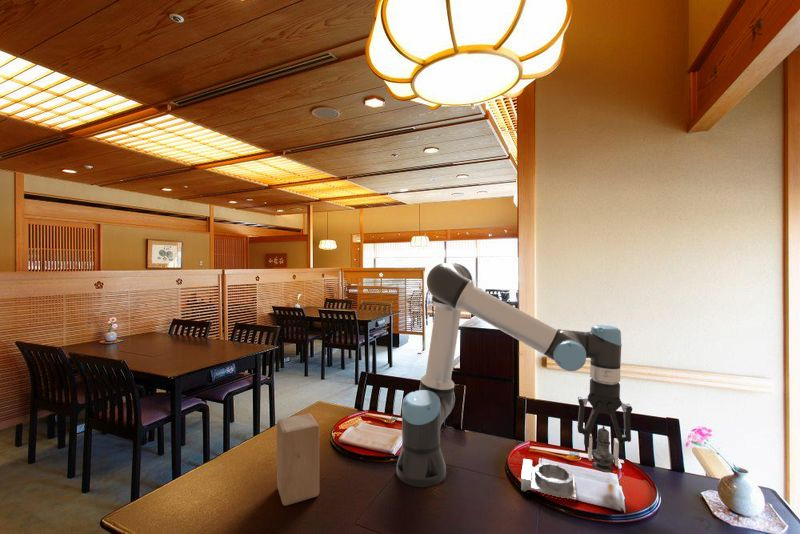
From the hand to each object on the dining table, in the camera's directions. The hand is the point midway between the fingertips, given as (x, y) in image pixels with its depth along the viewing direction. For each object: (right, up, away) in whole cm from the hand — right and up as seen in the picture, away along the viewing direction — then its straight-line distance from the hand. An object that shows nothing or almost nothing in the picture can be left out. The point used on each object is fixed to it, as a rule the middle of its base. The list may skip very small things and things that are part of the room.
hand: (602, 460), depth 103 cm
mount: (-15, -8, +1) cm, 17 cm away
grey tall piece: (0, -2, 0) cm, 2 cm away
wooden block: (-87, -8, -2) cm, 87 cm away
